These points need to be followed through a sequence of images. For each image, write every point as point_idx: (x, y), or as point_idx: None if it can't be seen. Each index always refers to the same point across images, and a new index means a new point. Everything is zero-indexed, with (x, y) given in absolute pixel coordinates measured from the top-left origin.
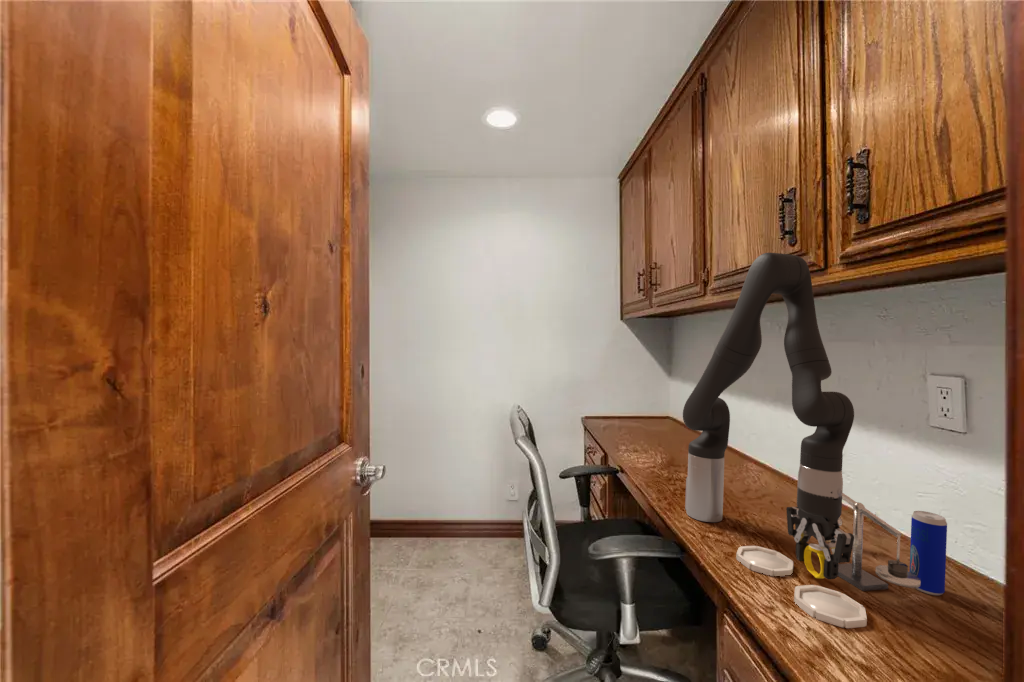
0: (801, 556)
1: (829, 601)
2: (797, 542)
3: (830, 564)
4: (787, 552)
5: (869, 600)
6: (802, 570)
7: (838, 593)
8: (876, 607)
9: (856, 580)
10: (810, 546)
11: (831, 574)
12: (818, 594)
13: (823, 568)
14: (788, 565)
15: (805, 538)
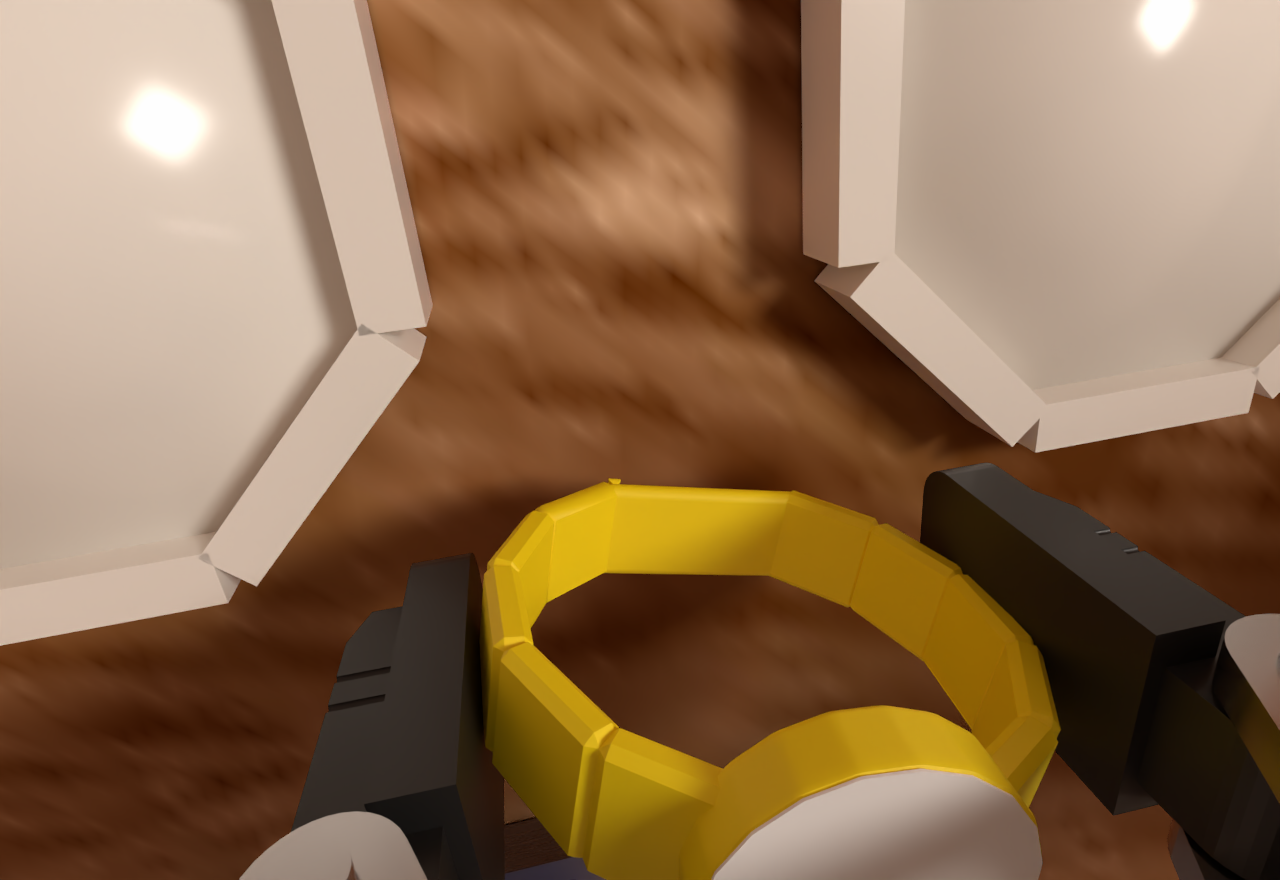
0: (970, 536)
1: (35, 298)
2: (1228, 627)
3: (351, 794)
4: (1220, 555)
5: (297, 801)
6: (890, 487)
7: (217, 538)
8: (157, 795)
9: (583, 877)
10: (916, 786)
11: (348, 658)
12: (234, 262)
13: (484, 628)
14: (950, 311)
15: (1256, 866)
